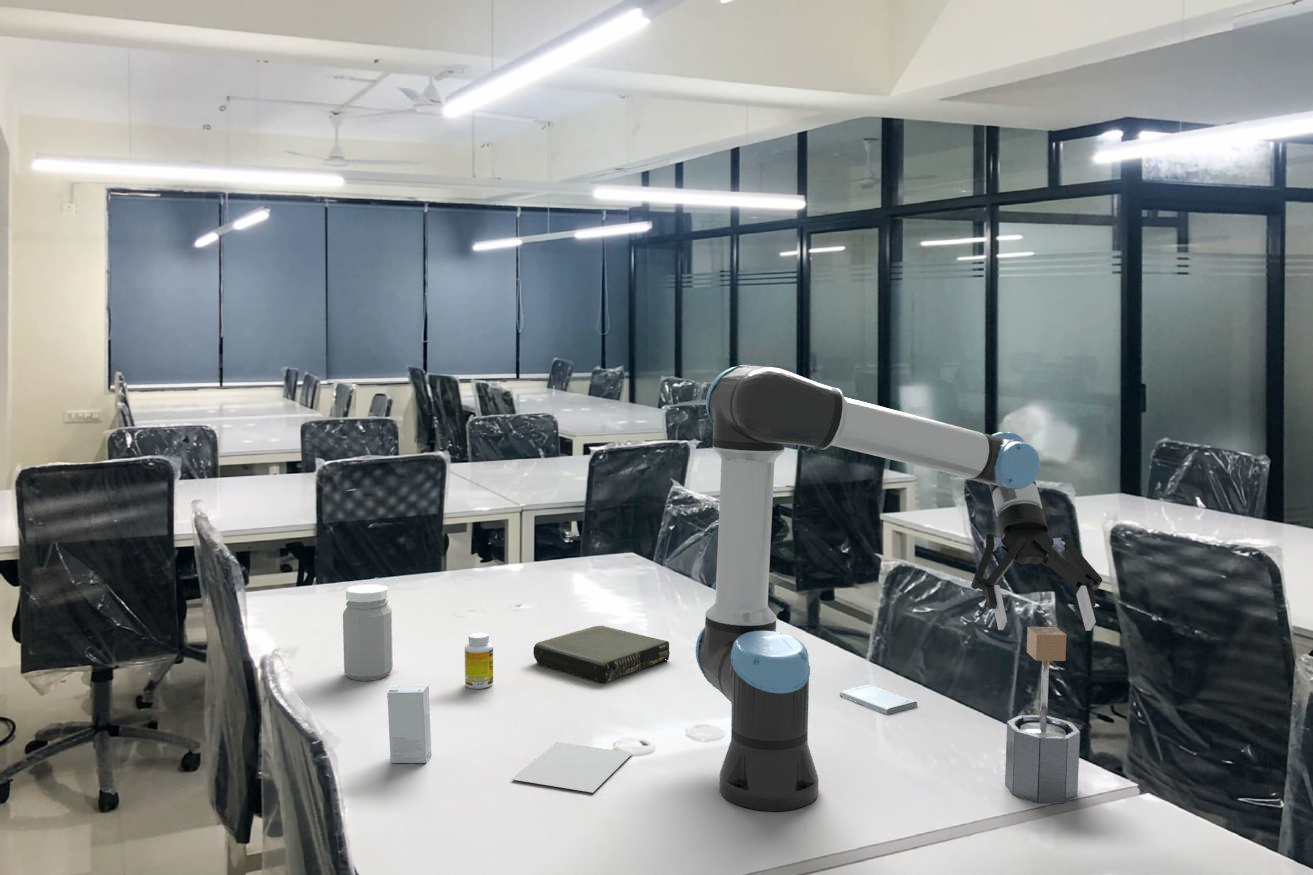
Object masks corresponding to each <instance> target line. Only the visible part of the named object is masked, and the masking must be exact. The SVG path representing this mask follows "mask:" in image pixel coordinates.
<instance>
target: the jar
mask: <svg viewBox="0 0 1313 875" xmlns="http://www.w3.org/2000/svg"><path fill="white" fill-rule="evenodd" d="M388 592H389V588H388V586H386V585H383V584H379V583H378V584H377V583H364V584H363V583H362V584H356V585H353V586H350V587H347V588H346V590H345V600H346V602H345V603H346V604H345V606H346V608H345V609H344V610H343V613H342V634H343V638H342V640H343V670H344V671H343V673H344V674H345V675H346V676H347V677H348V678H349V679H351V680H354V681H355V680H356V681H374V680H380V679H383V678H384V677H387V676H389V674H390V673H391V672H392V670H393V666H394V664H393V660H394V659H393V613H392V608H391V607H390V605H389V604H388V603H389V600H388V599H387V598H388V596H389V594H388Z"/></svg>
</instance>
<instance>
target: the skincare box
mask: <svg viewBox="0 0 1313 875" xmlns="http://www.w3.org/2000/svg"><path fill="white" fill-rule="evenodd" d="M429 687H430V686H429V685H428V684H394V685H392V686H391V688H390V689H389V691H387V697H386V698H387V711H388V712H387V713H388V731H389V732H388V734H389V735H388V736H389V754H390V755H389V756H390V757H389V758H390V763H391V764H427V763H428V761H429V759H430V758H431V756H432V737H431V736H432V735H431V714H430V713H431V712H430V711H431V708H430V689H429Z"/></svg>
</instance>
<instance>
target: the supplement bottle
mask: <svg viewBox="0 0 1313 875" xmlns="http://www.w3.org/2000/svg"><path fill="white" fill-rule="evenodd" d="M464 683H465V686H466V687H467V688H470V689H474V690H479V689H480V690H481V689H487V688H490V687H491V686H492V685H493V684H494V646H493V644H492V643H490V635H489V633H486V632H474V633H470V634H468V643H467V644H466V645H465V646H464Z"/></svg>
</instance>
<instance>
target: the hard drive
mask: <svg viewBox="0 0 1313 875" xmlns="http://www.w3.org/2000/svg"><path fill="white" fill-rule="evenodd" d="M840 695H841V696H842V698H843V697H845V698H844V699H846V698H847V699H846V700H848V699H851V700H852V701H851V700H850V701H851V702H854V701H856V702H857V703H856V702H855V703H856V704H859V705H861V704H862V705H861V706H864V707H866V706H867V708H869V709H871V708H872V710H874V711H876V710H877V711H876V712H879V713H881V712H882V713H881V714H883V715H886V714H887V715H891V714H894V713H893V712H895V713H897V712H901V711H900V710H902V711H905V709H906V710H908V708H909V709H913V708H916V706H917V707H918V701H916V700H913V699H910V698H907V697H904V696H903V695H900V694H897V693H894V692H892V691H889V690H885V689H883V688H880V687H877V686H875V685H873V684H869V683H868V684H865V685H859V686H856V687H852V688H847V689H844V690H841V691H840V692H839V696H840ZM841 696H840V697H841Z"/></svg>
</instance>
